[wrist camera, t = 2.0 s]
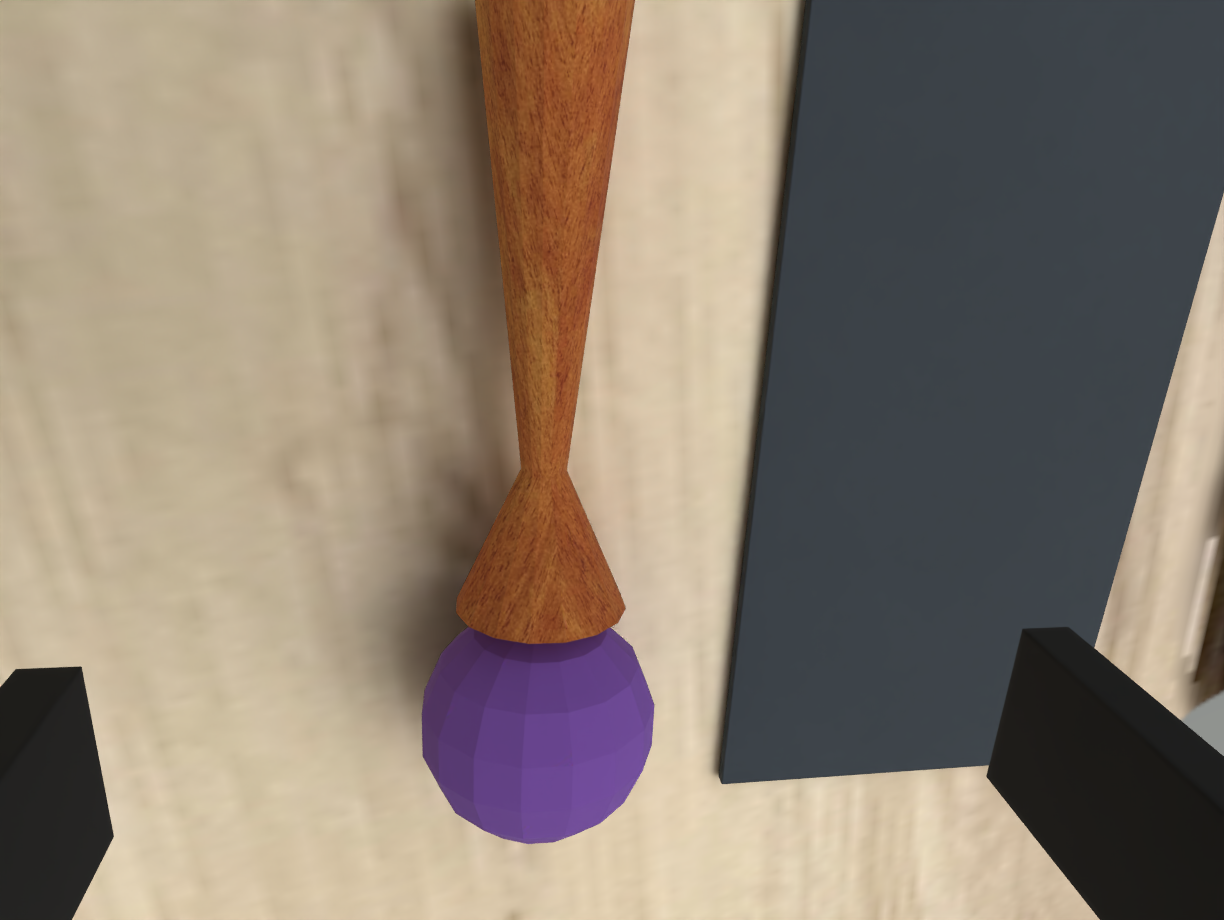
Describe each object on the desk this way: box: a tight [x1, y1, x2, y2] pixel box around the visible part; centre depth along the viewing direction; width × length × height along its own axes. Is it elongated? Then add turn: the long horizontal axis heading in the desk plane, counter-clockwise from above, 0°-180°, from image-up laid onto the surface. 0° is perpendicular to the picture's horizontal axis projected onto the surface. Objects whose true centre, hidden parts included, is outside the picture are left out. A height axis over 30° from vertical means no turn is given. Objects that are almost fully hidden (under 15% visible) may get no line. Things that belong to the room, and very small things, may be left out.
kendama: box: [422, 0, 654, 844], centre depth 21 cm, size 6×6×20 cm
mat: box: [719, 0, 1224, 784], centre depth 25 cm, size 24×12×1 cm, turn 177°
